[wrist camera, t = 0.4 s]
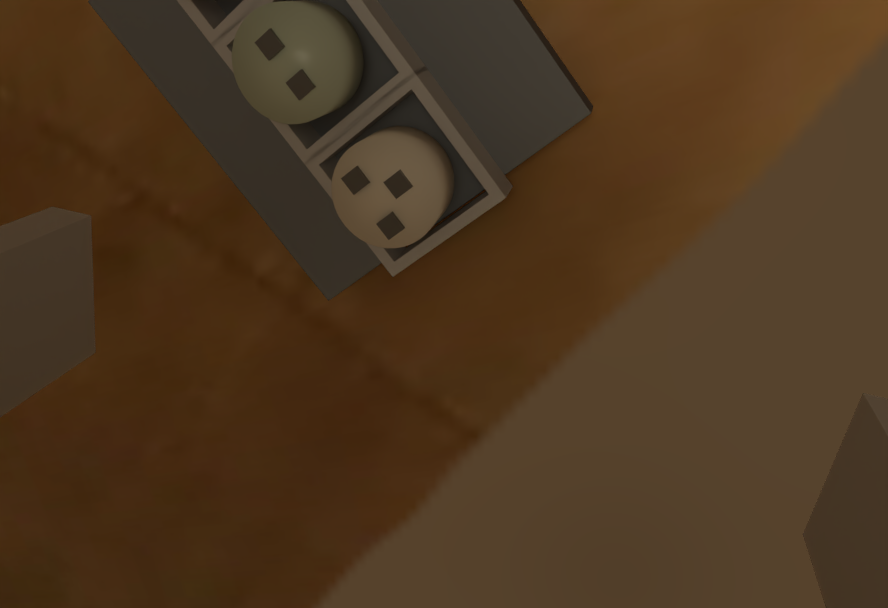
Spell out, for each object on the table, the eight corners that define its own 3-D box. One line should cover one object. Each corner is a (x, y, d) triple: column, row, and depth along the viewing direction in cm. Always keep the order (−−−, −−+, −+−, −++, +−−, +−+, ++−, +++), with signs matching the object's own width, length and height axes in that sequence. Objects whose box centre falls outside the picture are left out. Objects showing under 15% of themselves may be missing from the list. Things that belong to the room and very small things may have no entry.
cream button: (331, 167, 33) (307, 181, 30) (410, 103, 31) (391, 113, 29) (395, 249, 34) (377, 270, 31) (475, 192, 32) (462, 209, 29)
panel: (106, -10, 36) (48, -10, 33) (336, -265, 30) (297, -299, 27) (349, 295, 39) (321, 326, 36) (601, 117, 34) (597, 133, 30)
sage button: (239, 47, 32) (206, 53, 29) (315, -25, 30) (287, -26, 28) (307, 136, 33) (281, 147, 30) (385, 70, 31) (364, 77, 28)
